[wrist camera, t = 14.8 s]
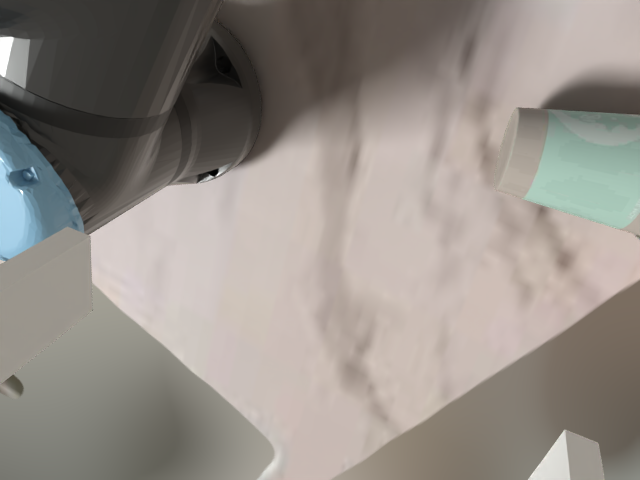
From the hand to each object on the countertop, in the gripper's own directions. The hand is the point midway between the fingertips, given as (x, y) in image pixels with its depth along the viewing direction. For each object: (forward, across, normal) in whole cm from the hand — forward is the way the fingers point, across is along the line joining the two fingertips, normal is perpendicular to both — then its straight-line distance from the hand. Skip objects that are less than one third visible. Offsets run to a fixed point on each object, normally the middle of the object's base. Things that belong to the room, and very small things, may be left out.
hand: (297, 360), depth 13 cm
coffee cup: (+27, +5, -1) cm, 27 cm away
